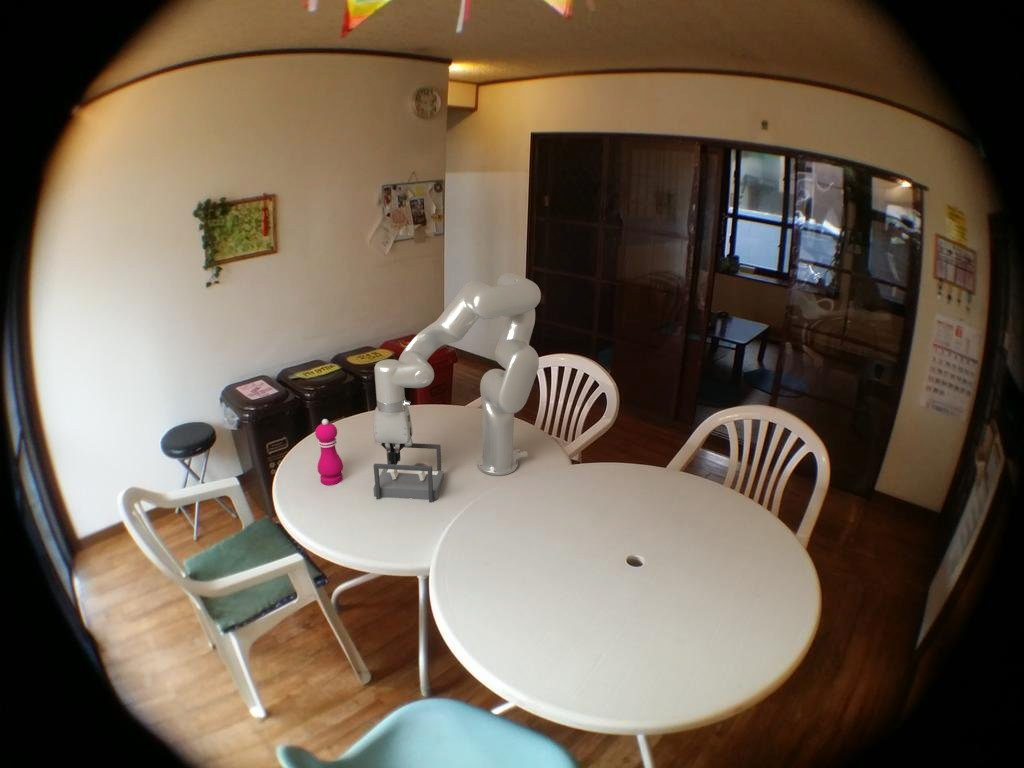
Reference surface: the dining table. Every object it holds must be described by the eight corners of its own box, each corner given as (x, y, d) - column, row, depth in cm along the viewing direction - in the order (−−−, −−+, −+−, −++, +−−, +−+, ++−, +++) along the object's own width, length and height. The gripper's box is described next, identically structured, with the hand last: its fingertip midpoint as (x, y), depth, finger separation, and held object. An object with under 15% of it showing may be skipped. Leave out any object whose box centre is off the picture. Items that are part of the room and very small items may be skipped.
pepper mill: (348, 474, 171) (341, 414, 164) (338, 487, 165) (332, 425, 157) (325, 472, 172) (317, 413, 164) (314, 485, 165) (306, 424, 158)
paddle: (398, 473, 165) (396, 466, 164) (396, 478, 163) (393, 471, 162) (395, 474, 166) (392, 467, 165) (392, 479, 163) (390, 472, 162)
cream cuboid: (425, 475, 165) (423, 468, 164) (423, 480, 162) (421, 473, 162) (422, 475, 165) (420, 468, 164) (420, 480, 163) (418, 473, 162)
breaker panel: (443, 479, 170) (443, 470, 169) (437, 500, 160) (436, 490, 159) (384, 476, 171) (384, 467, 170) (374, 496, 161) (373, 487, 160)
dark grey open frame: (441, 476, 171) (440, 444, 167) (432, 502, 159) (431, 468, 154) (389, 474, 172) (386, 441, 168) (376, 499, 159) (373, 465, 155)
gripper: (421, 400, 159) (423, 457, 165) (368, 397, 159) (373, 455, 166) (415, 411, 152) (417, 471, 158) (360, 408, 152) (365, 468, 159)
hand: (394, 462), depth 162 cm, fingers closed
